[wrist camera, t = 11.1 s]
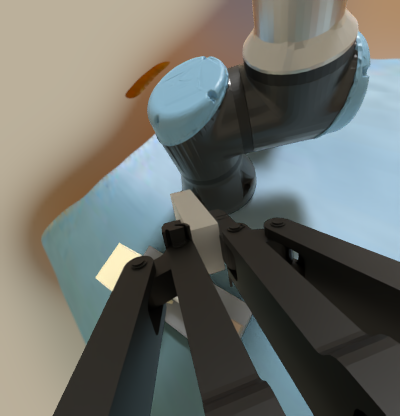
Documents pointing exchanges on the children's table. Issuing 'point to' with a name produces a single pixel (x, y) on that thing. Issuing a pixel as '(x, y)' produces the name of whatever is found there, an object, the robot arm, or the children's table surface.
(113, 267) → the pale yellow block
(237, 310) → the rod bead slider
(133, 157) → the children's table surface
